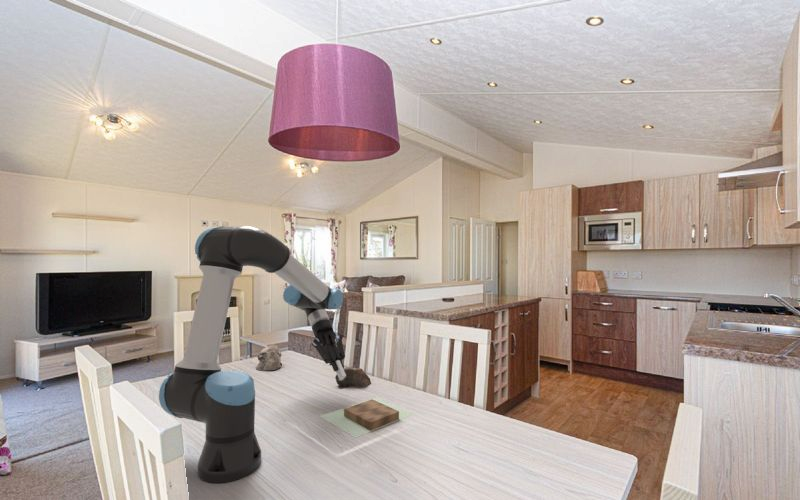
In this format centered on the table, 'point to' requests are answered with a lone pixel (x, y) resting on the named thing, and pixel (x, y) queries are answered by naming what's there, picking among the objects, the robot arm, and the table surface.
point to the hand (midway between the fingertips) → (342, 378)
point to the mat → (351, 426)
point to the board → (371, 414)
